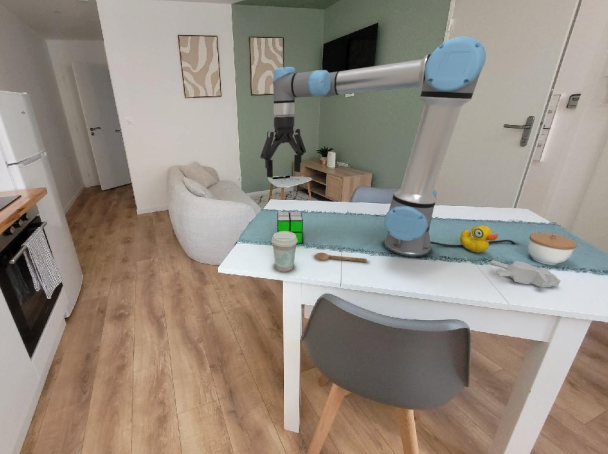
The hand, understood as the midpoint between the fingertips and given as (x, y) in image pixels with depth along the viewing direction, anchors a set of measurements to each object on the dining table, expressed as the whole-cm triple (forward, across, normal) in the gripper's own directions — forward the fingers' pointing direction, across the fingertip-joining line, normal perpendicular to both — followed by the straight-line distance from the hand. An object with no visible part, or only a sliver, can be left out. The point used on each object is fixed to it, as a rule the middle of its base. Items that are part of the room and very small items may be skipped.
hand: (283, 174), depth 113 cm
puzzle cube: (+27, 0, +3) cm, 27 cm away
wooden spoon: (+26, -3, +28) cm, 38 cm away
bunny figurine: (+27, -35, +68) cm, 81 cm away
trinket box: (+27, -55, +68) cm, 92 cm away
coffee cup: (+27, +16, +20) cm, 37 cm away
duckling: (+27, -45, +52) cm, 74 cm away
